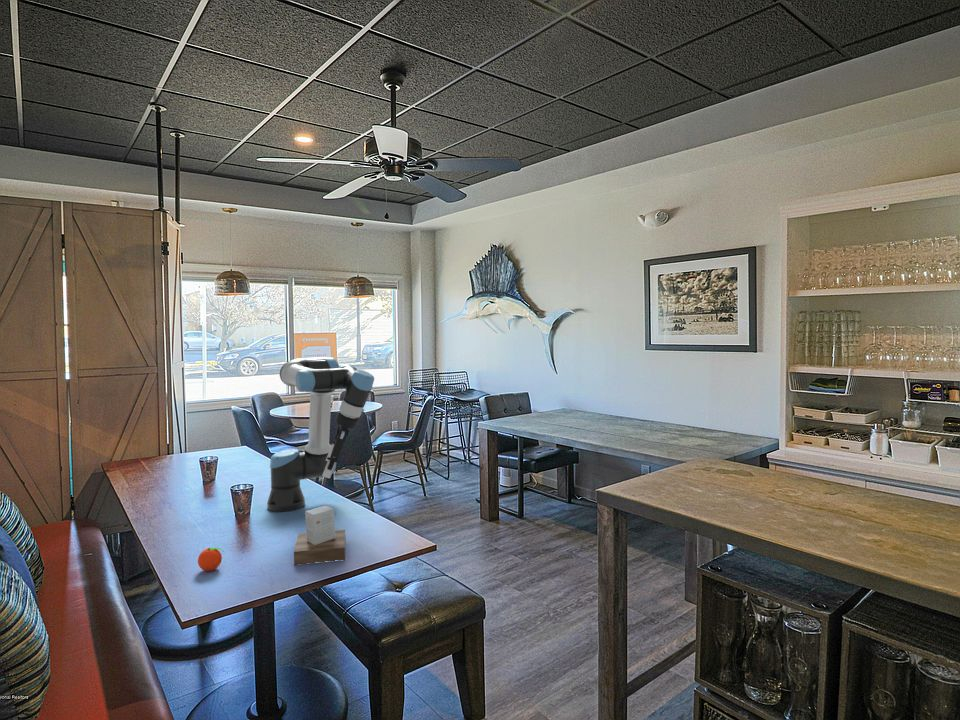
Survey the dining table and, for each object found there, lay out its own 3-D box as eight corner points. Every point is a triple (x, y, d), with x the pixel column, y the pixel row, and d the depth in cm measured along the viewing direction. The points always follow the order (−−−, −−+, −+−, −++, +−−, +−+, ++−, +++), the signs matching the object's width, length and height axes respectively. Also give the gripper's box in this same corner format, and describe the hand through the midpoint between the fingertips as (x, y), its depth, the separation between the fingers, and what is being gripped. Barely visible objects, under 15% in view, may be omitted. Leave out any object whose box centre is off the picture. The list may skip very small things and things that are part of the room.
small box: (327, 534, 199) (325, 504, 198) (335, 538, 195) (334, 508, 194) (306, 541, 193) (304, 510, 192) (314, 545, 189) (312, 514, 188)
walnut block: (298, 547, 200) (297, 533, 200) (345, 543, 204) (345, 529, 203) (294, 566, 185) (293, 551, 184) (345, 562, 188) (344, 547, 188)
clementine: (225, 562, 187) (224, 541, 186) (226, 571, 181) (225, 549, 180) (197, 568, 183) (196, 546, 182) (198, 576, 177) (197, 554, 176)
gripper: (358, 429, 185) (335, 487, 188) (360, 406, 209) (340, 458, 212) (336, 422, 183) (313, 480, 186) (341, 400, 207) (320, 452, 210)
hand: (327, 469), depth 199 cm, fingers open, 13 cm apart
